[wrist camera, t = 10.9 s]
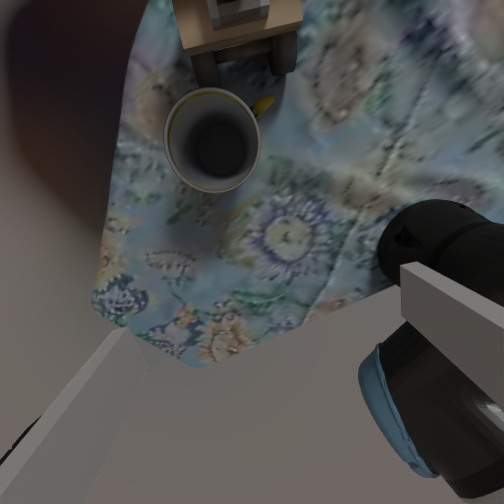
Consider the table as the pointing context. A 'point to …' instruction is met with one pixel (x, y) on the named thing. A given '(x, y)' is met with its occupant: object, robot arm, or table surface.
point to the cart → (238, 33)
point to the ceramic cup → (214, 138)
